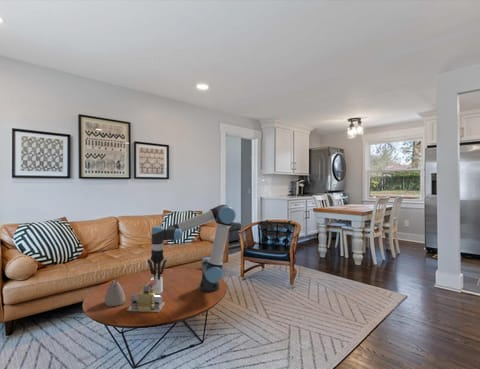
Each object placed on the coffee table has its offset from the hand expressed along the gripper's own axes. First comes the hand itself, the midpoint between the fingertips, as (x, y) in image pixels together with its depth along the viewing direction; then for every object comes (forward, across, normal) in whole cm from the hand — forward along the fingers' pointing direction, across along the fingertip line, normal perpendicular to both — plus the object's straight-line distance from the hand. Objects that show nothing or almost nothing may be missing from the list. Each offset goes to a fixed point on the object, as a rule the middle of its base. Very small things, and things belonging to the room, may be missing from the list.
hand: (157, 284), depth 186 cm
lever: (+1, +4, +3) cm, 5 cm away
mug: (+12, +6, -13) cm, 18 cm away
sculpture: (+12, +27, +3) cm, 30 cm away
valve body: (+12, +4, +8) cm, 15 cm away
